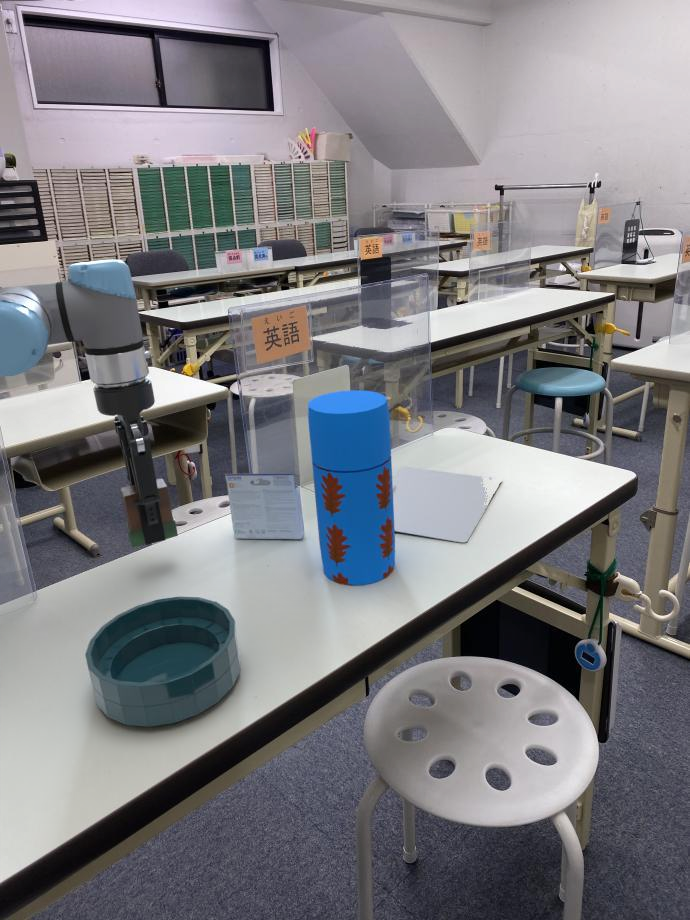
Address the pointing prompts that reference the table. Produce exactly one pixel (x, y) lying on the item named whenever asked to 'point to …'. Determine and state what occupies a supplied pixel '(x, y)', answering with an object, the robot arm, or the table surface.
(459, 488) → the white flat square sheet
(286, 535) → the ink box
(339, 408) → the thermos
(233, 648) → the bowl
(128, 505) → the sponge
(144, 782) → the table surface
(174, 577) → the table surface
